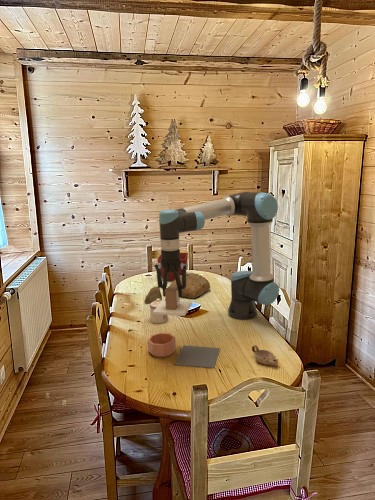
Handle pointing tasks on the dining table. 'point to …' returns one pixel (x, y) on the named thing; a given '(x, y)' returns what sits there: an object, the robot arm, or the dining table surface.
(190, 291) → the bread
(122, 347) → the dining table surface
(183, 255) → the plant pot
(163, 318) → the teacup with lid
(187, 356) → the mat
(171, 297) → the lid
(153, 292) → the rock
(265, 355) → the oil lamp
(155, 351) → the bowl
